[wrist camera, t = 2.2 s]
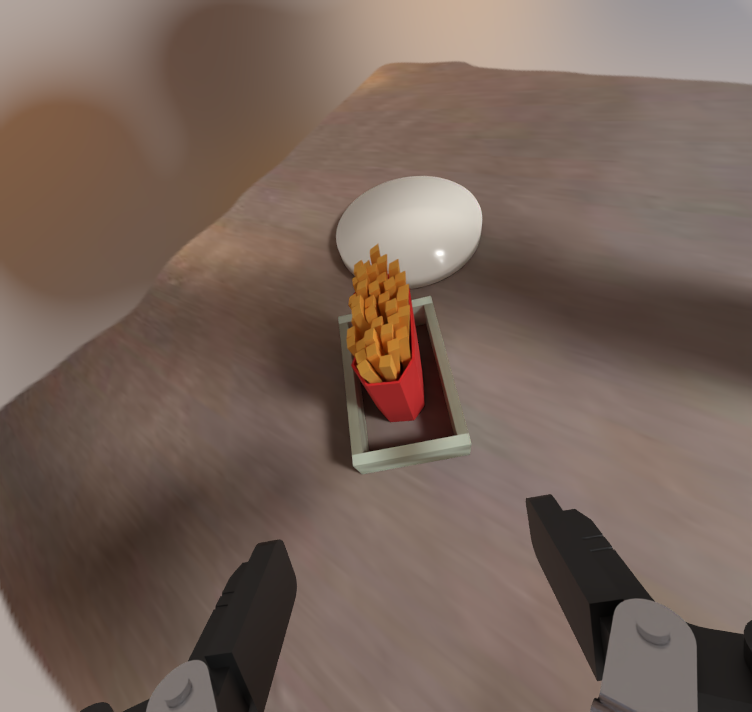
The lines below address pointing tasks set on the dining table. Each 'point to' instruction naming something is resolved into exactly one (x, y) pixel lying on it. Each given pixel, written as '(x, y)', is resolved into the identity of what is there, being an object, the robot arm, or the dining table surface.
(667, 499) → the dining table surface
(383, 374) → the french fries
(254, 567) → the robot arm
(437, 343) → the open rectangular box
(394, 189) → the ceramic plate
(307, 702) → the dining table surface
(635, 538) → the dining table surface
